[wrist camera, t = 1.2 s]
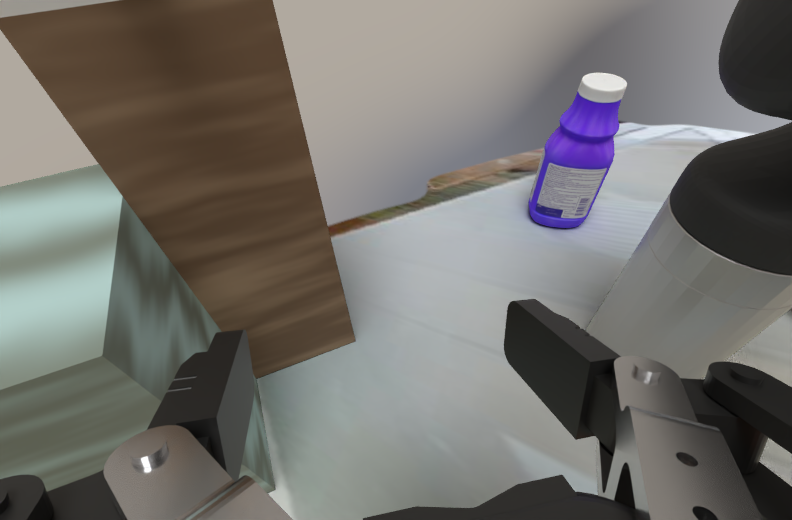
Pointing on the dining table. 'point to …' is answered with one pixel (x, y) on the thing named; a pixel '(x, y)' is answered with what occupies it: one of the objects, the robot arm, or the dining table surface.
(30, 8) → the white and orange block
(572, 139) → the bottle
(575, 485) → the dining table surface
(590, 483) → the dining table surface
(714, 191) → the robot arm
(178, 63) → the stand
